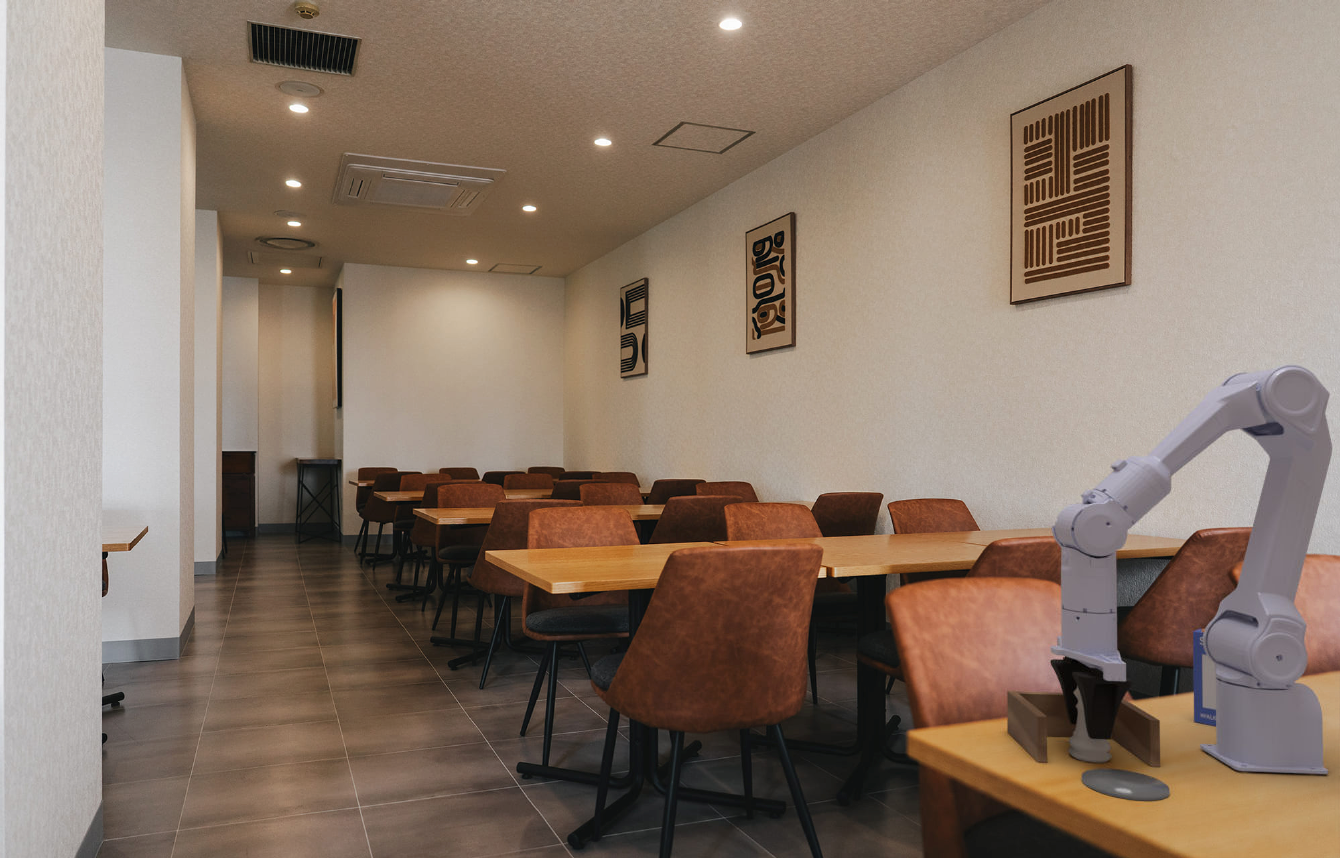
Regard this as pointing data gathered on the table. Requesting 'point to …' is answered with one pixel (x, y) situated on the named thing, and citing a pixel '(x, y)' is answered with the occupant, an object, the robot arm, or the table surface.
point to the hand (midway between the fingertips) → (1089, 731)
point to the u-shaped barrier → (1048, 717)
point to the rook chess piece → (1087, 740)
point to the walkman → (1203, 682)
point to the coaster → (1125, 784)
